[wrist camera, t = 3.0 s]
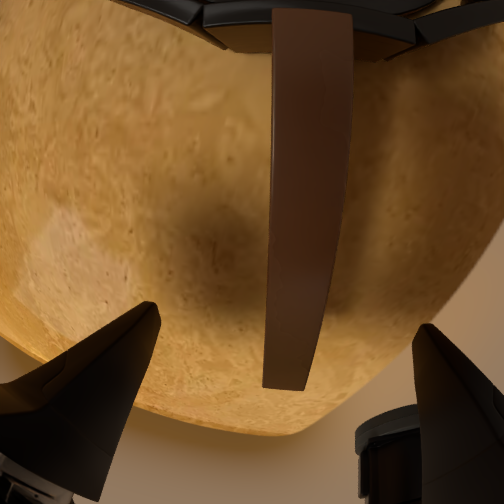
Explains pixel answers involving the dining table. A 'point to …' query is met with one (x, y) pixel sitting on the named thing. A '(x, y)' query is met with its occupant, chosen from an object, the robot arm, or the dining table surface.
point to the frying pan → (311, 132)
